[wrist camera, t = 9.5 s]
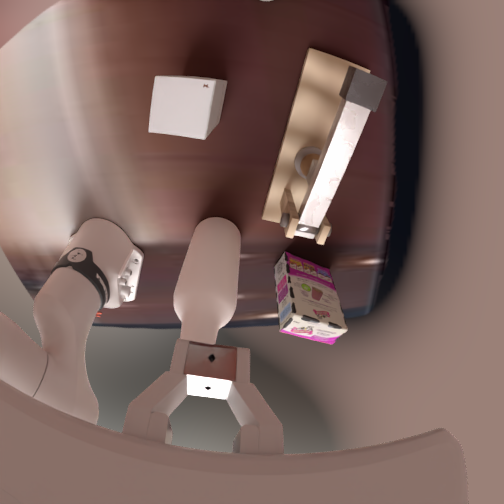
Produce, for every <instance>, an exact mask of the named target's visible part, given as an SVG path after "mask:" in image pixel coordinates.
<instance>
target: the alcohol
mask: <svg viewBox="0 0 504 504" xmlns="http://www.w3.org/2000/svg"><path fill="white" fill-rule="evenodd" d="M240 245H241V235H240V232H239V230H238V228H237V227H236V226H235V225H234V224H233V223H232V222H231V221H229V220H227V219H224V218H220V217H211V218H207V219H205V220H203V221H201V222H200V223H199V224H198V225H197V227H196V228H195V231H194V234H193V237H192V240H191V243H190V245H189V248H188V251H187V254H186V257H185V260H184V263H183V266H182V269H181V273H180V276H179V279H178V282H177V285H176V288H175V292H174V309H175V312H176V314H177V315H178V317H179V319H180V320H181V321H182V327H181V335H180V339H184V340H190V341H195V342H201V343H207V344H215V342H216V337H217V333H218V330H219V329H220V328H221V327H223V326H224V325H226V324H227V323H228V322H229V321H230V320H231V318H232V316H233V313H234V311H235V308H236V302H237V287H238V273H239V259H240Z"/></svg>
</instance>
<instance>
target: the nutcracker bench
mask: <svg viewBox="0 0 504 504" xmlns="http://www.w3.org/2000/svg"><path fill="white" fill-rule="evenodd" d="M349 66H352V67H355V68H358V69H360V70H363V71H365V72H367V73H369V74H370V70H368V69H365V68H363V67H361V66H358V65H356V64H353V63H351V62H348V61H346V60H343V59H340V58H338V57H335V56H332V55H329V54H327V53H324V52H321V51H318V50H314V49H311V48H309V49H308V50H307V54H306V58H305V61H304V65H303V68H302V72H301V76H300V79H299V83H298V86H297V90H296V94H295V97H294V101H293V104H292V108H291V112H290V115H289V119H288V122H287V126H286V130H285V133H284V137H283V140H282V144H281V148H280V151H279V155H278V158H277V162H276V166H275V169H274V173H273V176H272V180H271V184H270V187H269V191H268V195H267V198H266V202H265V205H264V209H263V213H262V219H264V220H269V221H273V222H278V223H280V226H281V227H284V230H285V235H286V237H288V238H293V237H294V234H295V231H296V228H297V225H298V222H299V216H298V211H299V209H300V206H301V204H302V201H303V199H304V196H305V194H306V191H307V189H308V183H307V179H306V176H307V174H308V171H309V168H310V166H311V163H312V160H313V159H314V160H319V158H320V155H321V153H322V150H323V147H324V145H325V142H326V139H327V137H328V134H329V131H330V129H331V126H332V123H333V121H334V118H335V115H336V113H337V110H338V107H339V104H340V102H341V99H342V97H341V96H339V93H340V90H341V87H342V84H343V82H344V79H345V76H346V73H347V70H348V67H349ZM331 231H332V224H331V223H329V222H328V220H327V217H326V215H324V218H323V220H322V222H321V224H320V230H319V232H318V234H317V235H315V239H316V242H317V244H322V245H324V242H325V240H326V238H327V237H329V236H330V234H331Z"/></svg>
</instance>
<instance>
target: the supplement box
mask: <svg viewBox="0 0 504 504" xmlns="http://www.w3.org/2000/svg"><path fill="white" fill-rule="evenodd" d="M226 86H227V81H225V80H219V79H212V78H205V77H195V76H155V81H154V87H153V94H152V102H151V110H150V119H149V130H148V132H153V133H163V134H170V135H177V136H184V137H191V138H197V139H203V140H204V139H206V138H207V136H208V135H209V134H210V133H211V132H212V130H213V129H214V128H215V127H216V126H217V124H218V123H219V121H220V117H221V112H222V107H223V102H224V96H225V91H226Z"/></svg>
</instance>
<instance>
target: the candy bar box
mask: <svg viewBox="0 0 504 504" xmlns="http://www.w3.org/2000/svg"><path fill="white" fill-rule="evenodd" d="M274 276H275V286H276V297H277V309H278V320H279V331H280V332H283V333H287V334H291V335H295V336H299V337H303V338H307V339H311V340H315V341H319V342H323V343H327V344H333V343H334V342H336V341H337V340H338V338H340V337H341V336H342V335H343V334H344V333H345V332H346V331H347V330H348V329H347V325H346V321H345V318H344V315H343V311H342V308H341V305H340V301H339V298H338V295H337V292H336V289H335V285H334V282H333V279H332V276H331V273H330V270H329V269H327V268H325V267H323V266H320V265H317V264H315V263H313V262H310V261H307V260H305V259H303V258H300V257H298V256H295V255H293V254H290V253H288V252H284V253H283V255H282V256H281V258H280V259H279V261H278V262H277V263H276V265H275V267H274Z"/></svg>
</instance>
